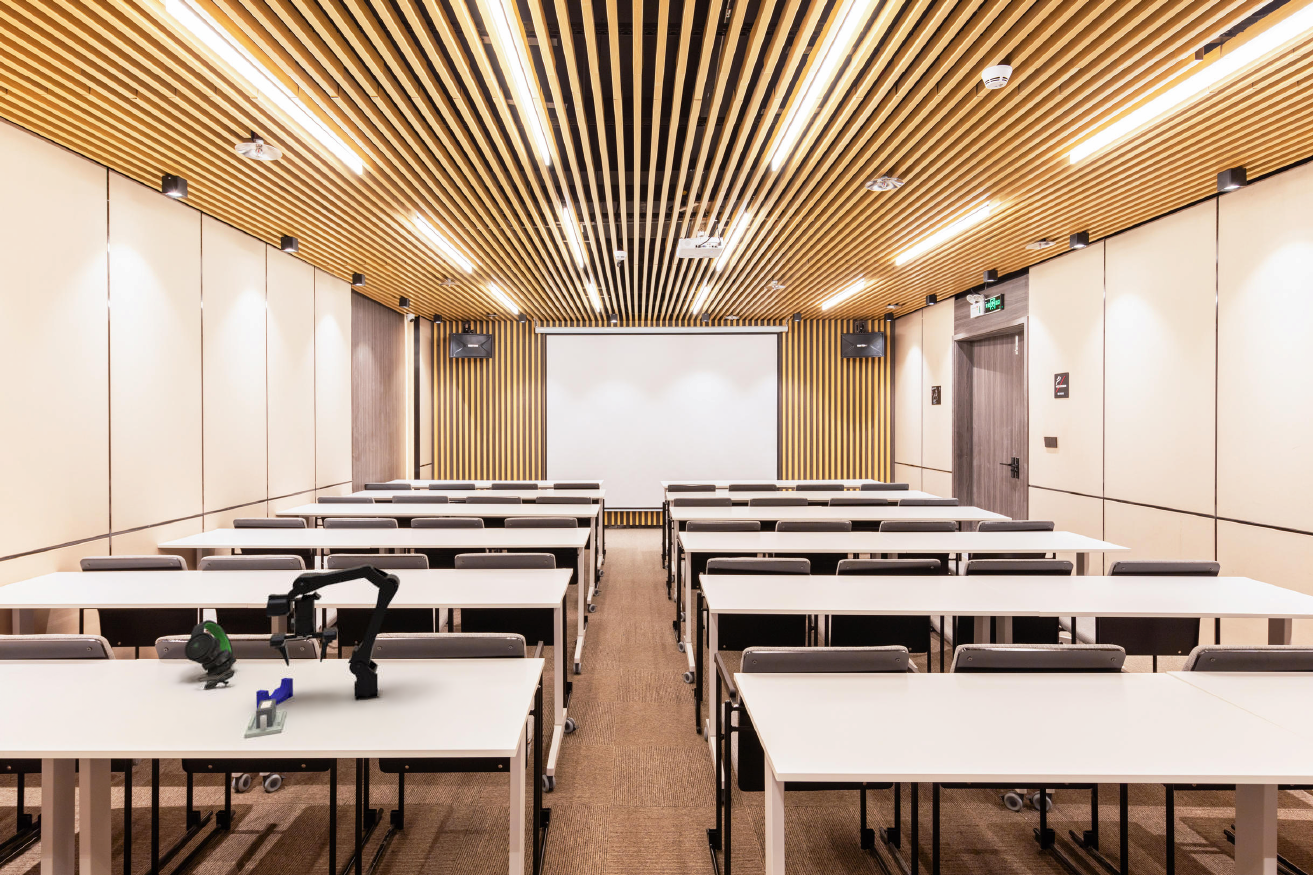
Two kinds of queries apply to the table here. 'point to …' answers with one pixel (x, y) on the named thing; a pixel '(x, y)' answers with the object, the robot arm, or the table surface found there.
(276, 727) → the pegged rail plate
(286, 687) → the cable clip
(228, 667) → the headset
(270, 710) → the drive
